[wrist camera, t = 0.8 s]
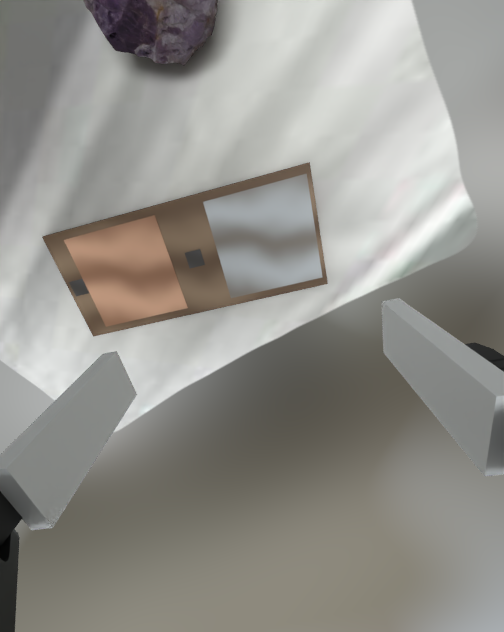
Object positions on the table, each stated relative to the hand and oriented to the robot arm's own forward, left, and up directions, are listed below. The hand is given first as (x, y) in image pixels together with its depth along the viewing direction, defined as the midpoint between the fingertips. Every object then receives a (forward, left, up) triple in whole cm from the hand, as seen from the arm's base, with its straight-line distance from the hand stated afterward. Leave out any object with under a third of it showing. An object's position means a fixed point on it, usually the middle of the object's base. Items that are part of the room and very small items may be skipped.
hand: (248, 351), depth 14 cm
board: (-2, -8, -23) cm, 25 cm away
